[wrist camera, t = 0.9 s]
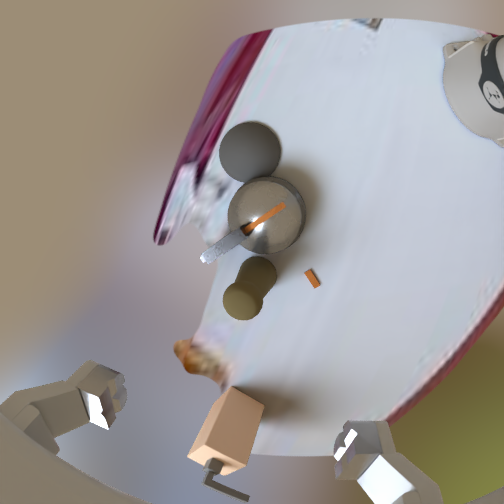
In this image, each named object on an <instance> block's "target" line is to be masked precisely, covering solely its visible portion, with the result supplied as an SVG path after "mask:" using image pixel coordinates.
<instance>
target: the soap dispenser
mask: <svg viewBox="0 0 504 504" xmlns="http://www.w3.org/2000/svg"><path fill="white" fill-rule="evenodd" d="M264 407H265V405H263V404H261V403H260V402H258V401H256V400H254V399H252V398H251V397H249V396H247V395H246V394H244V393H242V392H240V391H239V390H237V389H235V388H234V387H232V386H231V387H230V388H229V389H228V390H227V391H226V392H225V393H224V394H223V395H222V396H221V397H220V398H219V399H218V400H217V401H216V402H215V403H214V404H213V406H212V408H211V410H210V412H209V414H208V416H207V418H206V420H205V422H204V424H203V426H202V428H201V430H200V432H199V434H198V436H197V438H196V440H195V442H194V444H193V446H192V448H191V450H190V452H189V454H188V456H187V457H189V458H190V459H192V460H194V461H196V462H198V463H200V464H201V465H203V466H204V468H203V471H204V472H206V475H205V477H204V479H203V482H202V485H203V486H206V487H208V488H210V489H212V490H214V491H216V492H219V493H221V494H223V495H226V496H228V497H231V498H233V499H236V500H239V501H241V502H244V503H246V502H248V500H249V497H250V496H249V495H246V494H243V493H241V492H239V491H236V490H234V489H231V488H229V487H226V486H224V485H222V484H220V483H217V482H215V481H213V480H212V479H213V476H215V475H217V474H219V473H220V474H222V475H227V474H230V473H232V472H234V471H236V470H238V469H240V468H242V467H244V466H246V465H247V462H248V459H249V456H250V453H251V450H252V447H253V443H254V440H255V437H256V434H257V430H258V427H259V424H260V420H261V417H262V414H263V410H264Z"/></svg>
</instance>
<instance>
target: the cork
mask: <svg viewBox="0 0 504 504" xmlns="http://www.w3.org/2000/svg"><path fill="white" fill-rule="evenodd" d="M276 278H277V274H276V269H275V267H274V265H273V264H272V263H271V262H270V261H269V260H267V259H265V258H262V257H251V258H249V259H247V260H246V261H244V262H243V264H242V265H241V267H240V270H239V272H238V275H237V278H236V280H235V283H233V284H231V285H230V286H229V287H228V288H227V289H226V291H225V293H224V295H223V305H224V308H225V310H226V311H227V313H228V314H229V315H230V316H231V317H233V318H235V319H238V320H249V319H252V318H254V317H255V316H256V315H258V314H259V312H260V310H261V309H262V305H263V298H264V297H265V295H266V294H267V293H268V292H269V291H270V289H271V288H272V287H273V285H274V284H275V282H276Z"/></svg>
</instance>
